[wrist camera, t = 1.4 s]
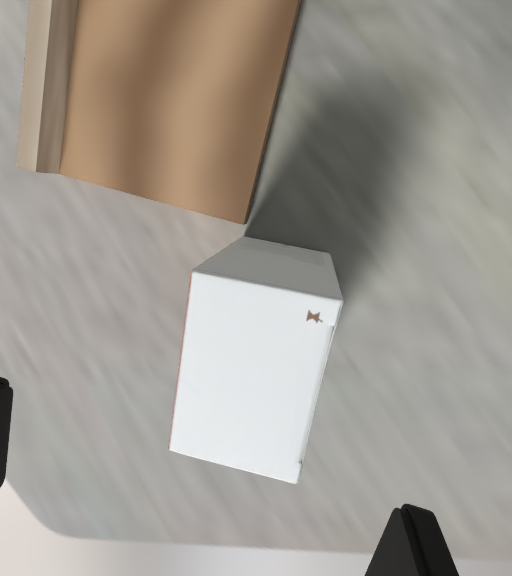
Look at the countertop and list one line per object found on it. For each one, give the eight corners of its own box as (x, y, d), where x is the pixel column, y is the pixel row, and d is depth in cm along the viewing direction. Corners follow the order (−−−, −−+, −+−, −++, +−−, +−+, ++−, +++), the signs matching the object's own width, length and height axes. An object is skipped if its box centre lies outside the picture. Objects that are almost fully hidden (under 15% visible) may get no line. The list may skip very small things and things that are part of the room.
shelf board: (317, -65, 19) (318, -111, 17) (246, 223, 23) (236, 227, 20) (78, -116, 20) (39, -166, 18) (48, 169, 24) (12, 165, 22)
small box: (242, 234, 24) (188, 262, 13) (332, 252, 23) (347, 296, 13) (222, 352, 26) (162, 454, 15) (304, 371, 25) (298, 490, 15)
